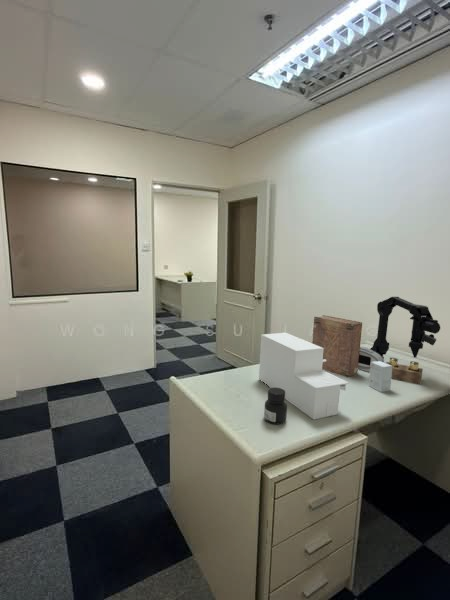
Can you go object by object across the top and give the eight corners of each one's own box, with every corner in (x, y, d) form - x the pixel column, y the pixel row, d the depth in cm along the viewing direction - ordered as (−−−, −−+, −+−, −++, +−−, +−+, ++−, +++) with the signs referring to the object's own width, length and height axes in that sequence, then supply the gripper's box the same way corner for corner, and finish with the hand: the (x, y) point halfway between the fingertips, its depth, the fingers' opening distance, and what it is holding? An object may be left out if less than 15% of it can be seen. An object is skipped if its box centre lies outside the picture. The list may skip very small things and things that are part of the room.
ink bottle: (260, 414, 132) (261, 386, 131) (280, 412, 134) (282, 385, 133) (269, 426, 123) (270, 397, 121) (290, 424, 125) (292, 395, 123)
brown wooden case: (310, 364, 196) (313, 316, 191) (319, 361, 202) (322, 314, 197) (349, 377, 176) (353, 324, 172) (357, 373, 182) (362, 322, 178)
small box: (390, 390, 160) (393, 365, 158) (380, 392, 158) (383, 367, 156) (377, 384, 167) (380, 360, 166) (368, 386, 165) (370, 361, 163)
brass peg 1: (388, 369, 179) (389, 358, 179) (389, 367, 183) (390, 357, 182) (396, 370, 177) (397, 360, 176) (397, 368, 181) (398, 358, 180)
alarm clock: (340, 364, 198) (341, 344, 196) (345, 362, 202) (346, 342, 200) (378, 375, 181) (380, 353, 179) (383, 372, 185) (385, 351, 183)
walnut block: (382, 376, 179) (384, 366, 178) (385, 371, 187) (386, 361, 186) (420, 384, 169) (421, 373, 168) (421, 379, 177) (422, 368, 176)
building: (348, 413, 136) (353, 357, 132) (313, 421, 128) (317, 361, 125) (287, 375, 176) (289, 332, 173) (257, 380, 169) (259, 334, 166)
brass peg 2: (408, 373, 174) (409, 362, 173) (409, 371, 177) (410, 360, 176) (417, 375, 172) (418, 364, 171) (417, 372, 175) (419, 362, 174)
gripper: (435, 334, 159) (432, 364, 161) (436, 328, 174) (433, 356, 176) (410, 331, 165) (406, 360, 167) (413, 325, 180) (410, 352, 183)
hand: (415, 357), depth 173 cm, fingers closed
